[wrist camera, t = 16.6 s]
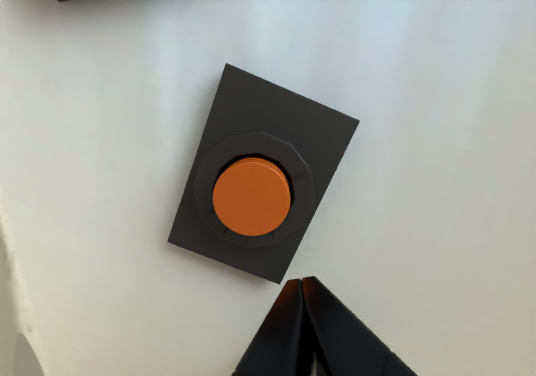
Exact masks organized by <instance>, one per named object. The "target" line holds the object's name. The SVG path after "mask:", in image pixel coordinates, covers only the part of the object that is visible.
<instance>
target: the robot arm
mask: <svg viewBox="0 0 536 376" xmlns="http://www.w3.org/2000/svg"><path fill="white" fill-rule="evenodd" d="M231 376H418V375H417V374H416V373H414V372H413V371H412V370H411V369H410V368H409V367H408V366H407V365H406V364H405V363H404V362H403V361H402V360H401V359H400V358H399V357H398V356H397V355H396V354H395V353H394V352H391V350H390V349H389V348H388V347H387V346H386V345H385V344H384V343H383V342H382V341H381V340H380V339H379V338H378V337H377V336H376V335H375V334H374V333H373V332H372V331H371V330H370V329H369V328H368V327H367V326H366V325H365V324H364V323H363V322H361V321H360V320H359V319H358V318H357V317H356V316H355V315H354V314H353V313H352V312H351V311H350V310H349V309H348V308H347V307H346V306H345V305H344V304H343V303H342V302H341V301H340V300H339V299H338V298H337V297H336V296H335V295H334V294H333V293H332V292H331V291H330V290H329V289H328V288H326V287H325V286H324V285H323V284H322V283H321V282H320V281H319V280H318V279H317V278H316V277H315V276H311V277H305V278H302V281H301V279H292V280H288V281H287V282H286V284H285V285H284V287H283V289H282V291H281V292H280V294H279V296H278V297H277V299H276V301H275V302H274V304H273V306H272V308H271V309H270V311H269V313H268V314H267V316H266V318H265V319H264V321H263V323H262V325H261V326H260V328H259V330H258V331H257V333H256V335H255V336H254V338H253V340H252V341H251V343H250V345H249V347H248V348H247V350H246V352H245V353H244V355H243V357H242V358H241V360H240V362H239V364H238V365H237V367H236V369H235V371H234V372H233V373H232V375H231Z"/></svg>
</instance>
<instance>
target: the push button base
mask: <svg viewBox="0 0 536 376" xmlns="http://www.w3.org/2000/svg"><path fill="white" fill-rule="evenodd" d="M359 122H360V121H359V120H357V119H355V118H353V117H350V116H348V115H346V114H343V113H341V112H339V111H336V110H334V109H332V108H329V107H327V106H325V105H322V104H320V103H318V102H315V101H313V100H311V99H308V98H306V97H304V96H301V95H299V94H297V93H295V92H292V91H290V90H288V89H285V88H283V87H281V86H278V85H276V84H274V83H271V82H269V81H267V80H264V79H262V78H260V77H257V76H255V75H253V74H250V73H248V72H246V71H243V70H241V69H239V68H237V67H234V66H232V65H230V64H227V63H226V65H225V68H224V71H223V74H222V77H221V80H220V83H219V86H218V89H217V92H216V95H215V98H214V101H213V104H212V107H211V111H210V114H209V117H208V120H207V123H206V126H205V129H204V132H203V135H202V138H201V141H200V144H199V147H198V150H197V153H196V156H195V159H194V162H193V165H192V168H191V172H190V175H189V178H188V181H187V184H186V187H185V190H184V193H183V196H182V199H181V202H180V205H179V208H178V211H177V214H176V217H175V220H174V223H173V226H172V230H171V233H170V236H169V239H168V242H169V243H171V244H174V245H177V246H179V247H182V248H185V249H187V250H190V251H193V252H195V253H198V254H201V255H203V256H206V257H208V258H211V259H214V260H216V261H219V262H222V263H224V264H227V265H230V266H232V267H235V268H238V269H240V270H243V271H245V272H248V273H251V274H253V275H256V276H259V277H261V278H264V279H267V280H269V281H272V282H275V283H277V284H280V283H281V281H282V279H283V277H284V275H285V273H286V271H287V269H288V267H289V265H290V263H291V261H292V259H293V257H294V255H295V252H296V250H297V248H298V246H299V244H300V242H301V240H302V238H303V236H304V234H305V232H306V230H307V228H308V226H309V224H310V222H311V220H312V218H313V216H314V214H315V212H316V210H317V208H318V206H319V204H320V201H321V199H322V197H323V195H324V193H325V191H326V189H327V187H328V185H329V183H330V181H331V179H332V177H333V175H334V173H335V171H336V169H337V167H338V165H339V163H340V161H341V159H342V157H343V155H344V153H345V150H346V148H347V146H348V144H349V142H350V140H351V138H352V136H353V134H354V132H355V130H356V128H357V126H358V124H359ZM245 158H261V159H265V160H268V161H270V162H272V163H273V164H275V165H276V166H277V167H278V168H279V169H280V170H281V171H282V172H283V174H284V175H285V177H286V179H287V182H288V186H289V192H290V207H289V211H288V213H287V216H286V217H285V219H284V221H283V222H282V223H281V224H280V225H279V226H278V227H277V228H276V229H274V230H273V231H271V232H269V233H266V234H263V235H258V236H246V235H242V234H239V233H236V232H234V231H232V230H231V229H229V228H228V227H226V226H225V225H224V224H223V223H222V221H221V220H220V219H219V217H218V216H217V214H216V211H215V209H214V205H213V190H214V187H215V184H216V182H217V180H218V179H219V177H220V176H221V175H222V173H223V172H224V171H225V170H226V169H227V168H229V167H230V166H231V165H232V164H233V163H235V162H237V161H239V160H242V159H245Z"/></svg>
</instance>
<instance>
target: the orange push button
mask: <svg viewBox="0 0 536 376" xmlns="http://www.w3.org/2000/svg"><path fill="white" fill-rule="evenodd" d="M213 205H214V209H215V211H216V214H217V216H218V217H219V219H220V220H221V221H222V223H223V224H224V225H225V226H226V227H228V228H229V229H231V230H232V231H234V232H236V233H239V234H242V235H246V236H258V235H263V234H266V233H269V232H271V231H273V230H274V229H276V228H277V227H278V226H279V225H280V224H281V223H282V222H283V221H284V219H285V217H286V216H287V213H288V211H289V207H290V192H289V186H288V182H287V179H286V177H285V175H284V174H283V172H282V171H281V170H280V169H279V168H278V167H277V166H276V165H275V164H273V163H272V162H270V161H268V160H265V159H261V158H245V159H242V160H239V161H237V162H235V163H233V164H232V165H231V166H230V167H229V168H227V169H226V170H225V171H224V172H223V173H222V175H221V176H220V177H219V179H218V180H217V182H216V184H215V187H214V190H213Z"/></svg>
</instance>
